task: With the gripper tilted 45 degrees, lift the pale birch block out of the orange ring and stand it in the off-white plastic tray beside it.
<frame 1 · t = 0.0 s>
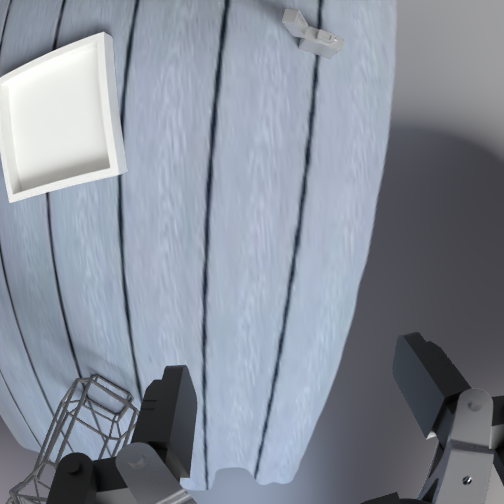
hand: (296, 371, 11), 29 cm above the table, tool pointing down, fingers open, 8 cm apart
tray: (58, 120, 33), on the table
geometric lantern: (107, 391, 50), on the table
lighter: (303, 44, 32), on the table
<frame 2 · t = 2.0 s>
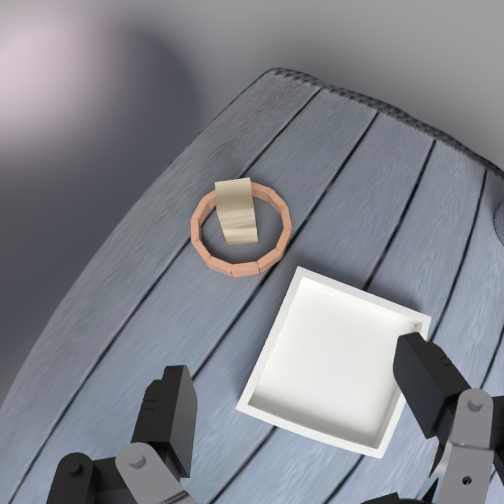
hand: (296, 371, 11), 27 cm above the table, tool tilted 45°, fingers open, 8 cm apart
tray: (337, 366, 36), on the table
orange ring: (241, 230, 43), on the table
birch block: (238, 214, 39), in the orange ring
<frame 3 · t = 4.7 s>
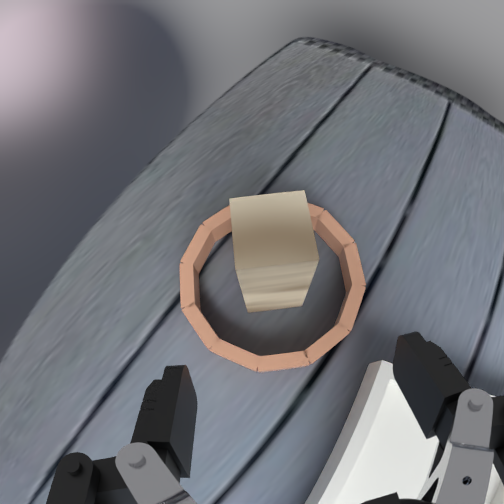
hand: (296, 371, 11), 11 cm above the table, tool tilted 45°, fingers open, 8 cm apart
tray: (420, 496, 16), on the table
orange ring: (271, 283, 24), on the table
birch block: (272, 261, 20), in the orange ring
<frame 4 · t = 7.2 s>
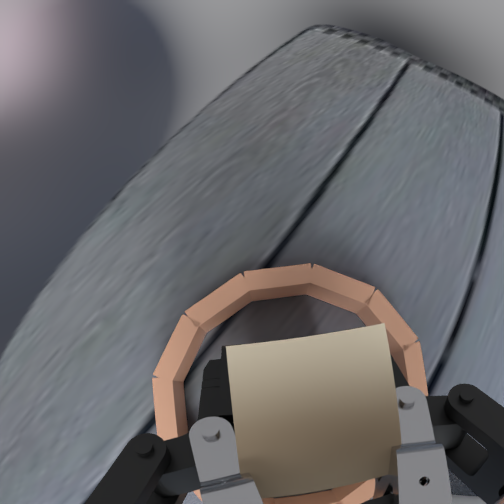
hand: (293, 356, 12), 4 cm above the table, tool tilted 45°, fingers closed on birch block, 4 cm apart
orange ring: (292, 399, 15), on the table
birch block: (301, 405, 11), in the orange ring, touching gripper
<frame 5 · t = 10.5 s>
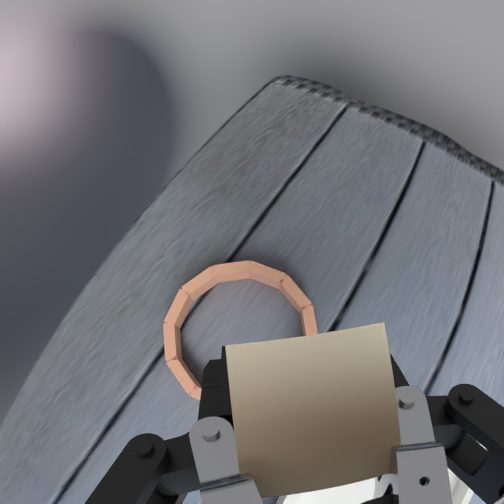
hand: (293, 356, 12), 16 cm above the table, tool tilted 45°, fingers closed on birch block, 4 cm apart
orange ring: (241, 338, 28), on the table
birch block: (300, 404, 11), point 16 cm above the table, touching gripper
when the fingers open (6 cm above the table, at t = 13.8 s): birch block drops 1 cm, resting on tray.
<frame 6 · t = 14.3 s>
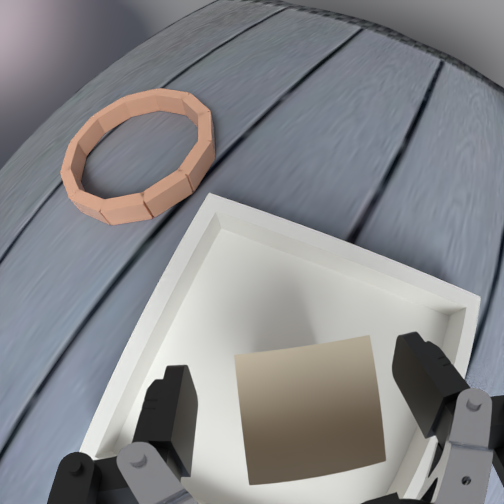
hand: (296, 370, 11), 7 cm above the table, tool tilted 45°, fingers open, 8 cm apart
tray: (289, 398, 17), on the table
orange ring: (138, 155, 25), on the table
birch block: (298, 404, 12), in the tray, point 5 cm above the table
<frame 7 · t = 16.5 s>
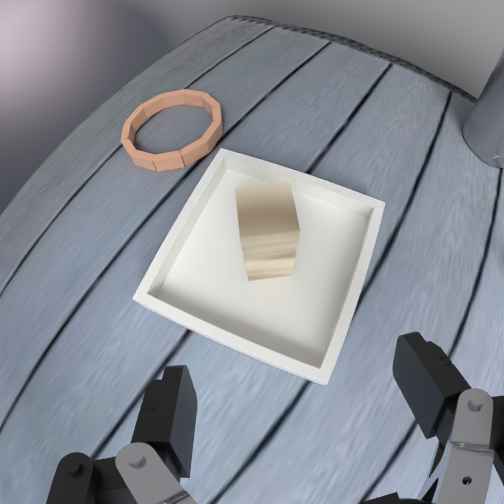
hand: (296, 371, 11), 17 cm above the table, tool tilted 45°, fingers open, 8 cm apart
tray: (266, 260, 31), on the table
orange ring: (173, 131, 39), on the table
birch block: (267, 236, 26), in the tray, point 5 cm above the table
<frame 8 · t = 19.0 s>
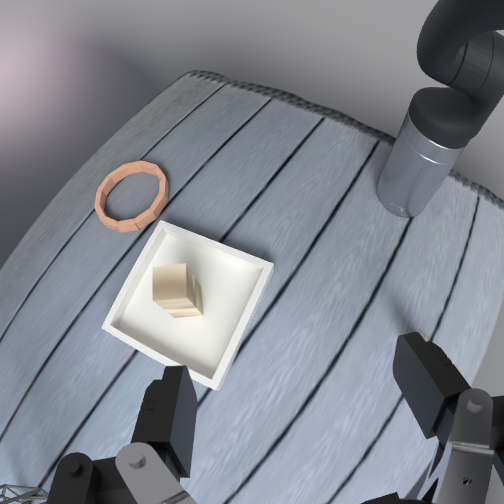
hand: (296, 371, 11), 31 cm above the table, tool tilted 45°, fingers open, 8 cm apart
tray: (188, 303, 44), on the table
orange ring: (132, 198, 52), on the table
birch block: (179, 293, 39), in the tray, point 5 cm above the table
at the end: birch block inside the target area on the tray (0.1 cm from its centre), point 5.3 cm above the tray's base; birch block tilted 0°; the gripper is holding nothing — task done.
